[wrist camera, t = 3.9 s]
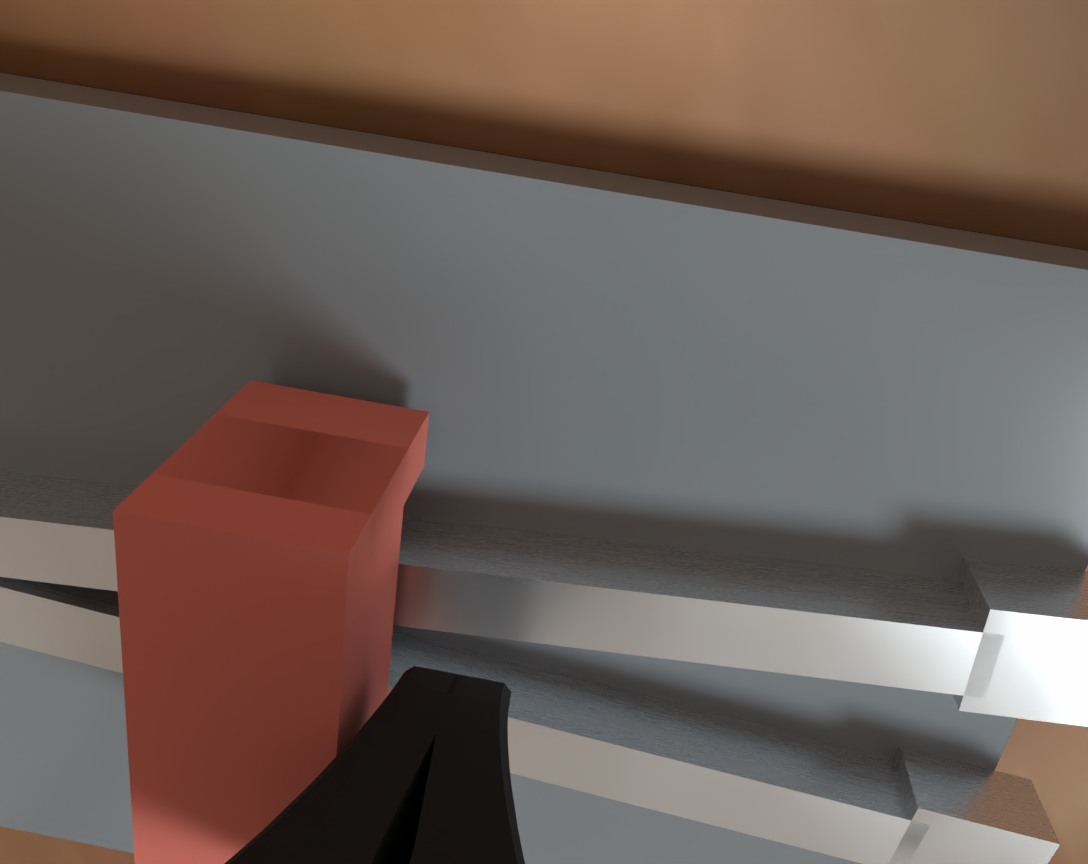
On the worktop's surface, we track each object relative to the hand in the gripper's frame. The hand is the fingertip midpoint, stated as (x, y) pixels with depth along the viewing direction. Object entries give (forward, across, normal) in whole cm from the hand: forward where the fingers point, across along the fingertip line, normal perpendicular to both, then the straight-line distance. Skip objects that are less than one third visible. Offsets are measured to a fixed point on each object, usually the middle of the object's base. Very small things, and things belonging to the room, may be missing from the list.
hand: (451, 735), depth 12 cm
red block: (+2, +2, 0) cm, 3 cm away
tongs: (+2, +2, 0) cm, 3 cm away
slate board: (+4, +2, 0) cm, 4 cm away
